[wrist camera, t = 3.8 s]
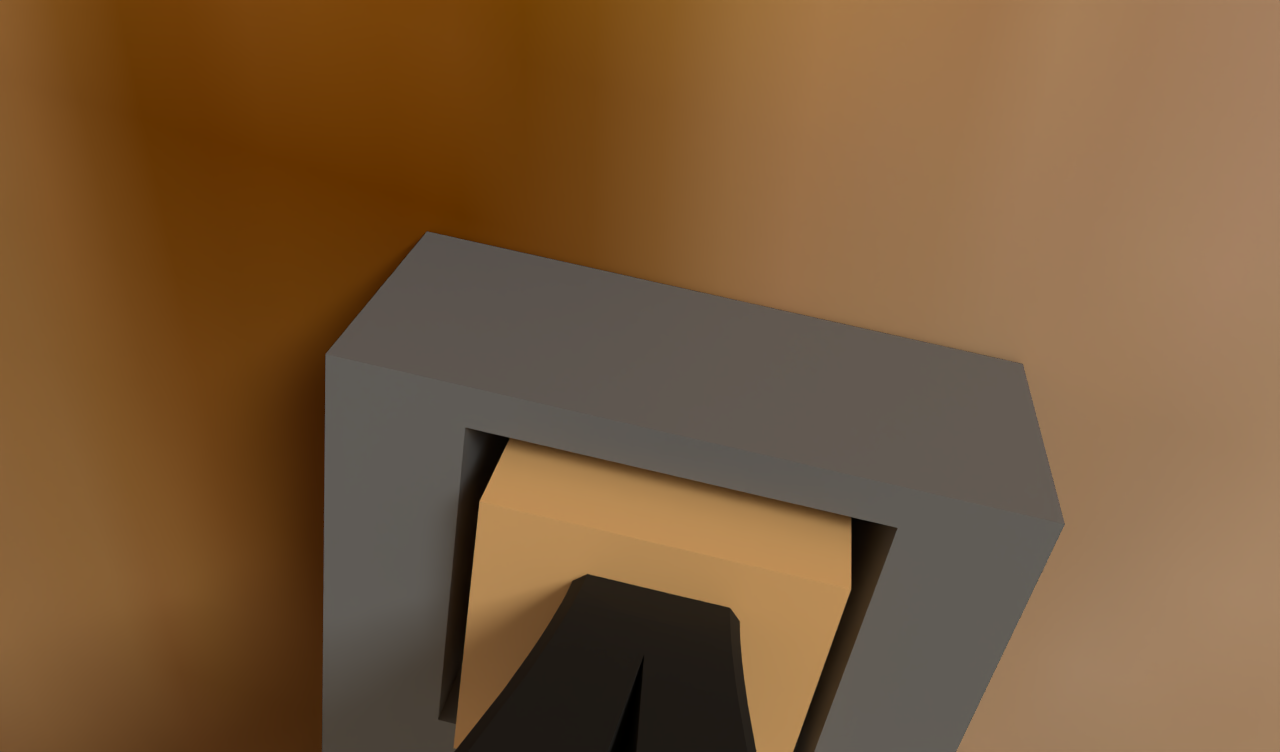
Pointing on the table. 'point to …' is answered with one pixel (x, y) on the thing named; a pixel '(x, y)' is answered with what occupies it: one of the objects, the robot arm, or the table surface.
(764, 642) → the orange key
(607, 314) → the grey button panel
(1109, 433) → the table surface
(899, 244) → the table surface
